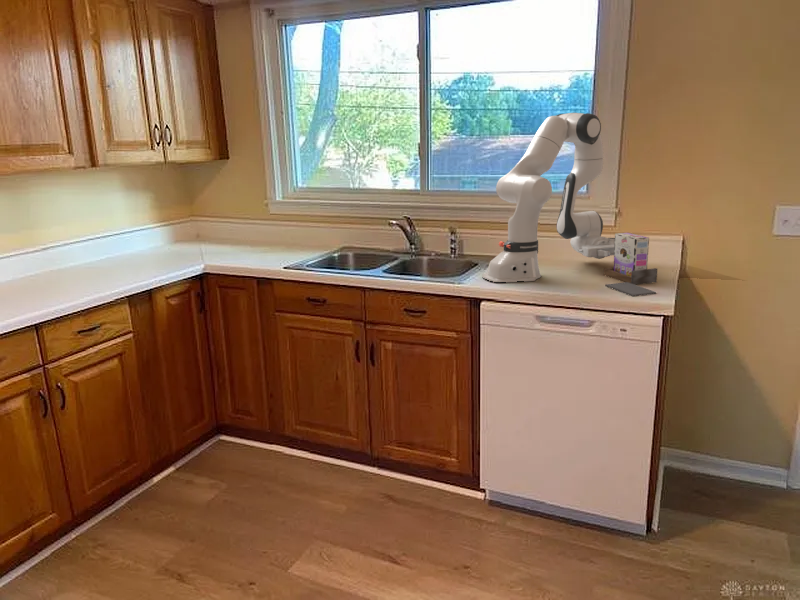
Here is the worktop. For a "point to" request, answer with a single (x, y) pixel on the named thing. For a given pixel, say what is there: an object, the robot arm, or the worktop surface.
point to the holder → (634, 276)
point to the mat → (630, 289)
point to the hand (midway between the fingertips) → (619, 253)
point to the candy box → (630, 253)
